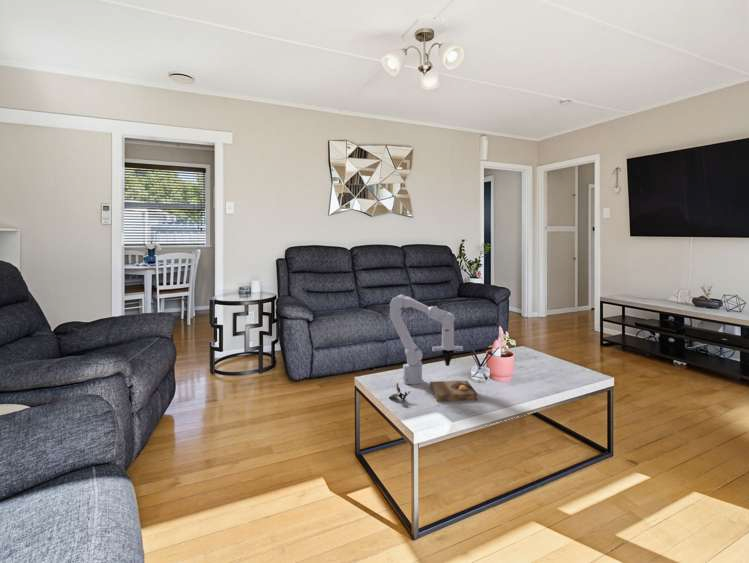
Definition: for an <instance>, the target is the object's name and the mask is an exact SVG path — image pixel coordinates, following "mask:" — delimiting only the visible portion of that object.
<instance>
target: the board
mask: <svg viewBox="0 0 749 563" xmlns="http://www.w3.org/2000/svg"><path fill="white" fill-rule="evenodd" d="M461 385H465V386H466V387H467V389H463V390H461V389H459V387H460V386H461ZM429 389H430V390H432V391H431V393H432V392H433V393H432V395H433V394H434V395H433V396H434V398H435V400H436V402H455V401H456V402H460V401H461V402H462V401H478V393H477V391H476V390H475V389H474V387H473V386H472V384H470V382H469V381H468V380H444V381H443V380H442V381H440V380H439V381H430V382H429Z"/></svg>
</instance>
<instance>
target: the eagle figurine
mask: <svg viewBox="0 0 749 563" xmlns="http://www.w3.org/2000/svg"><path fill="white" fill-rule="evenodd" d="M395 389H396V391H397V393H392V394H391V395H390V396H389V397H388V398H389V399H397V398H400V399H401V400H402V402H403V403H405V399H406V398H407V396H408V395H409V394H411V391H410V390H409V391H408V392H407V391H405V392H404V393H402V391H401V388H400V387H399V383H398V382H396V388H395Z"/></svg>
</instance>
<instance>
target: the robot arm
mask: <svg viewBox="0 0 749 563" xmlns="http://www.w3.org/2000/svg"><path fill="white" fill-rule="evenodd" d="M407 308H413V309H416V310H418V311H420V312H423V313H425V314H426V316H427V318H431V319H433V320H435V321H436V322H439V323H441V325H442V326H441V327H442V328H441V345H436V346H432V348H431V350H432V352H441V354H442V356H443V358H444V363H445V366H446V367H449V366H450V363H451V360H452V358H453V356H454V355H455V351H458V352H459V351H460V352H463V351H464V346H463V345H455V344H454V342H455V341H454V340H455V321H456V320H455V319H456V318H455V315H454V314H453V313H452V312H451V311H447V310H442V309H441V308H438V306H437V305H435V306H434V305H431V306H429V305H426V304H425V303H422V302H420V301H418V300H417V299H414V298H412V297H410V296H408V295H407V296H406V295H404V294H397V295H396V296H394V297H392V299H391V301H390V303H389V318H390V320H391V322H392V325H393V327H394V328H395V330H396V333H397V334H398V336H399V339H400V341H401V343H402V345H403V347H404V354H405V356H406V363H404V364H403V365H402V372H403V373H402V380H403V383H404V384H405V385H417V384H418V385H420V384H421V385H423V384H425V382H424V380H423V362H422V359H423V356H424V355H423V352H422V350H421V349H420V348H419V347H418V345H417V344H416V343H415V342H414V340H413V337H412V336H411V334H410V332H409V330H408V328H407V326H406V323H405V321H404V319H403V317H402V313H403V310H404V309H407Z"/></svg>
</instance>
